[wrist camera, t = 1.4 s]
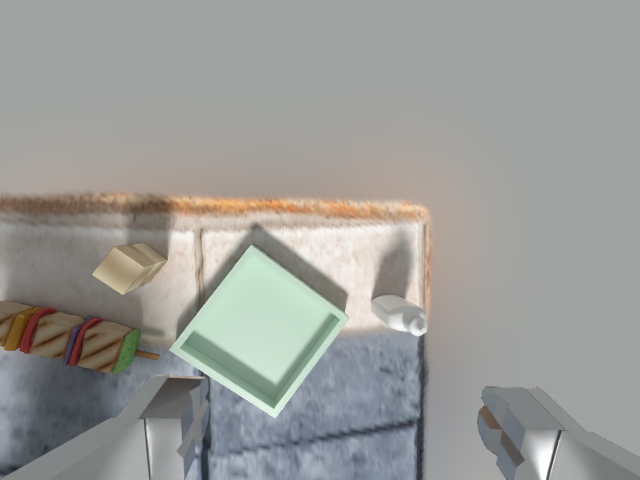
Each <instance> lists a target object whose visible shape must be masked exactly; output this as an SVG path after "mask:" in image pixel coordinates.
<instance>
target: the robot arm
mask: <svg viewBox="0 0 640 480" xmlns="http://www.w3.org/2000/svg"><path fill="white" fill-rule="evenodd" d="M208 390H209V389H208V379H207V378H206V377H195V376H177V375H172V376H170V375H153V376H150V377H149V378H148V380H147V381H146V382H145V383H144V384H143V386H142V387H141V388H140V389H139V391H138V392H137V393H136V394H135V395H134V397H133V398H132V399H131V400H130V401H129V403H128V404H127V405H126V406H125V408H124V409H123V410H122V411H121V412H120V414H119V415H118V416H117V417H116V418H109V419H107V420H105V421H104V422H102V423H100V424H98V425H96V426H95V427H93V428H91V429H89V430H88V431H86V432H84V433H82V434H80V435H79V436H77V437H75V438H73V439H71V440H70V441H68V442H66V443H64V444H62V445H61V446H59V447H57V448H55V449H53V450H52V451H50V452H48V453H46V454H44V455H43V456H41V457H39V458H37V459H35V460H34V461H32V462H30V463H28V464H27V465H25V466H23V467H21V468H19V469H18V470H16V471H14V472H12V473H10V474H9V475H7V476H5V477H3V478H1V479H0V480H185V478H186V476H187V474H188V471H189V469H190V467H191V465H192V462H193V460H194V458H195V446H196V445H197V444H198V443H200V442H201V441H202V439H203V436H204V434H205V431H206V427H207V423H208V418H209V402H208V401H207V400H206V399H205V396H206V394H207V392H208ZM481 399H482V401H483V402H484V404H485V405H484V406H483V407H482V408H481V409H480V410H479V412H478V420H477V424H478V430H479V434H480V436H481V439H482V441H483V443H484V445H485V446H486V448H487V449H488V450H490V451H491V452H492V453H493V454H495V455H496V456H497V463H496V464H497V466H498V467H499V469H500V470H501V472H502V474H503V475H504V477H505V478H506V480H640V457H639V456H637V455H635V454H633V453H631V452H629V451H627V450H626V449H624V448H622V447H620V446H618V445H616V444H615V443H613V442H611V441H609V440H607V439H605V438H603V437H601V436H599V435H598V434H596V433H594V432H587V431H586V430H584V429H583V428H582V426H580V425H579V424H578V423H577V422H576V421H575V420H574V419H573V418H572V417H571V416H570V415H569V414H568V413H567V412H566V411H565V410H564V409H563V408H561V407H560V406H559V405H558V404H557V403H556V402H555V401H554V400H553V399H552V398H551V397H550V396H549V395H548V394H547V393H546V392H545V391H544V390H542V389H540V388H538V387H487V386H486V387H485V388H484V390H483V391H482V397H481Z"/></svg>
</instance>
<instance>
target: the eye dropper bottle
mask: <svg viewBox="0 0 640 480" xmlns="http://www.w3.org/2000/svg"><path fill="white" fill-rule="evenodd" d="M371 310H372V313H373V314H375V315H376V316H377V317H378V318H379V319H380V320H382V321H383V322H384V323H385V324H386V325H387V326H389V327H391V328H393V329H395V330H399V331H409V332H410V333H412V334H413V335H415V336H420V335H422V334H424V333H426V331H427V323H426V314H425V311H424V310H423V309H421V308H420V307H418V306H416V305H414V304H413V303H411V302H409V301H407V300H405V299H404V298H402V297H399V296H396V295H382V296H379V297H376V298H374V299H373V300H372V303H371Z"/></svg>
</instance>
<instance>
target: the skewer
mask: <svg viewBox="0 0 640 480" xmlns="http://www.w3.org/2000/svg"><path fill="white" fill-rule="evenodd" d="M139 336H140V335H139V329H138V328H136V329H135V330H133V329H131V328H129V327H126V326H124V325H121V324H118V323H115V322H108V321H103V322H102V319H101V318H94V317H93V316H92V315H89V317H88V318H87V320H86V319H84V318H83V317H80V316H75V315H67V314H65V313H64V312H60V311H59V312H57V313H56V310H55V309H54V308H44V309H41V308H40V306H37V307H36V308H35V307H33V306H27V305H24V304H20V303H17V302H12V301H0V346H2V347H4V346H5V347H4V349H5V350H7V351H14V350H16V349H18V348H20V351H22V352H24V353H26V354H29V353H30V354H33V355H37V356H42V357H49V358H54V359H60V358H64V361H63V364H62V365H70V366H75V365H76V364H77V363H78V364H77V366H79V367H85V368H90V369H93V370H96V371H99V372H105V373H110V372H111V371H113V370H114V371H113V373H112V374H117V373H119V372H121V371H123V370H125V369H126V368H127V367H128V366H129V365H130V364H131V363H132V361H133V358H134V356H140V357H145V358H149V359H154V360H157V359H158V358H159V354H154V353H150V352H146V351H141V350H137V346H138V341H139Z"/></svg>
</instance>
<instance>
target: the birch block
mask: <svg viewBox="0 0 640 480" xmlns="http://www.w3.org/2000/svg"><path fill="white" fill-rule="evenodd" d="M167 260H168V259H166V258H165V257H163V256H162V255H161V254H159V253H158V252H156V251H155V250H153V249H152V248H150V247H149V246H148V245H146V244H145V243H138V244H131V245H124V246H117V247H114V248H113V249H112V250H111V251H110V253H109V254H108V255H107V256H106V258H105V259H104V260H103V261H102V262H101V264H100V265H99V266H98V267H97V269H96V270H95V271H94V272H93V274H92V275H93V276H94V277H96V278H97V279H99V280H100V281H102V282H103V283H105V284H107V285H108V286H110V287H111V288H113V289H114V290H116V291H117V292H119V293H120V294H122V295H123V294H126V293H128V292H130V291H132V290H134V289H136V288H138V287H140V286H143V285H145V284H147V283H149V282H150V281H151V280H152V279H153V278H154V276H155V275H156V274H157V273H158V271H159V270H160V269H161V268H162V266H163V265H164V264H165V263H166V261H167Z"/></svg>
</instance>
